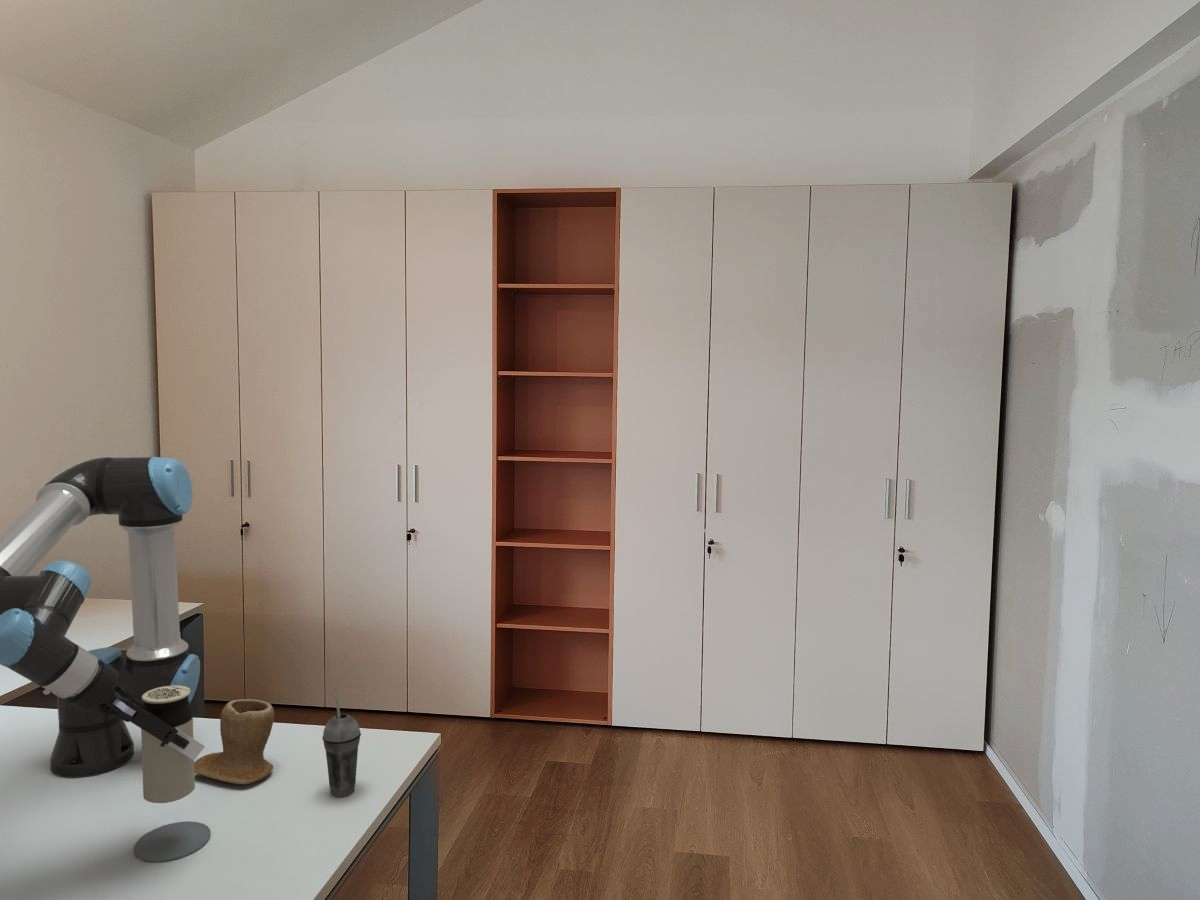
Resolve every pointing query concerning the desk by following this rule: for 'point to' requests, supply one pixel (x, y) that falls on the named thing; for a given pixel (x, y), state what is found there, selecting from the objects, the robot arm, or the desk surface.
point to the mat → (172, 841)
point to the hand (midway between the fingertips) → (188, 744)
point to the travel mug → (167, 747)
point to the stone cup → (240, 743)
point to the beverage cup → (341, 752)
